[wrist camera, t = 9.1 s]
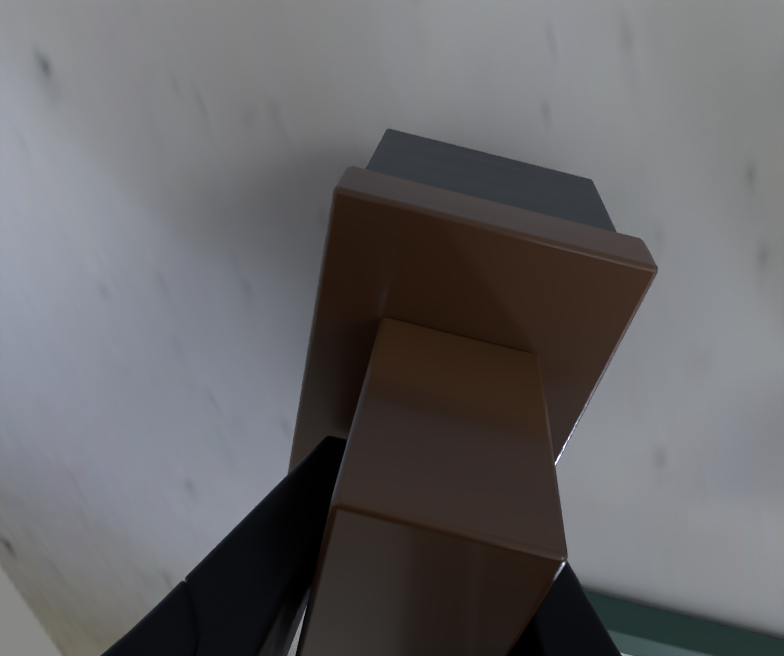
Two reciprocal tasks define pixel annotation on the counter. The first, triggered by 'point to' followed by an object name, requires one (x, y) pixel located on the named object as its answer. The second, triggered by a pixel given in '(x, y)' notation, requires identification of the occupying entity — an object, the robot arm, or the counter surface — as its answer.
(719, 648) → the frame
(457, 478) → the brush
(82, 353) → the counter surface
